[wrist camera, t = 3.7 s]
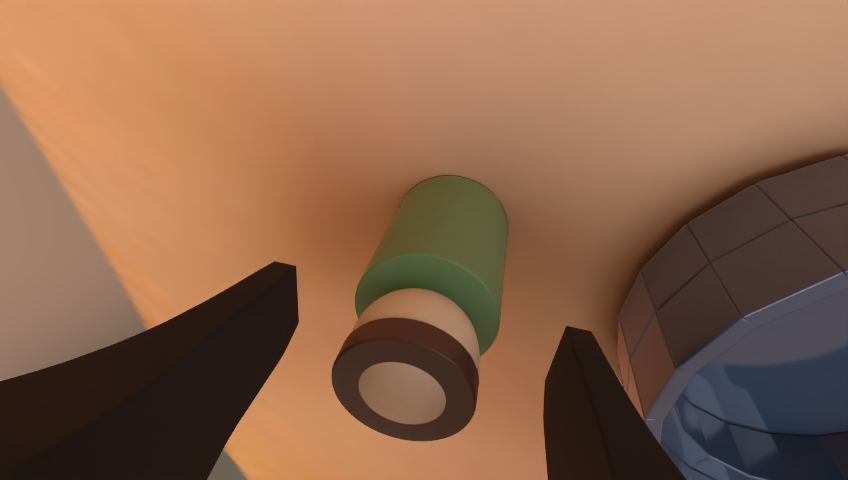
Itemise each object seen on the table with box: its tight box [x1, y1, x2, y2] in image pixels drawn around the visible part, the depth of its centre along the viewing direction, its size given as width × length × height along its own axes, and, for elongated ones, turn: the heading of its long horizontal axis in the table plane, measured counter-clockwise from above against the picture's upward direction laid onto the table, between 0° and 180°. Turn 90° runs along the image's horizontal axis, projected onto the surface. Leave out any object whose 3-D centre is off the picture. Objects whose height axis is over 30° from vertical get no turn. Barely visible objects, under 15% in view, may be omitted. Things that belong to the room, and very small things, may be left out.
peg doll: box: [332, 176, 508, 441], centre depth 13 cm, size 4×4×8 cm
